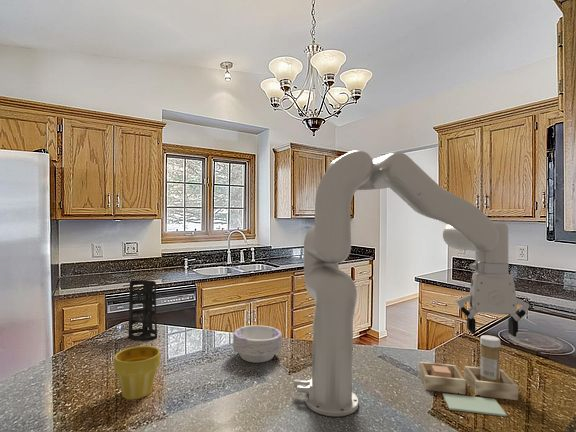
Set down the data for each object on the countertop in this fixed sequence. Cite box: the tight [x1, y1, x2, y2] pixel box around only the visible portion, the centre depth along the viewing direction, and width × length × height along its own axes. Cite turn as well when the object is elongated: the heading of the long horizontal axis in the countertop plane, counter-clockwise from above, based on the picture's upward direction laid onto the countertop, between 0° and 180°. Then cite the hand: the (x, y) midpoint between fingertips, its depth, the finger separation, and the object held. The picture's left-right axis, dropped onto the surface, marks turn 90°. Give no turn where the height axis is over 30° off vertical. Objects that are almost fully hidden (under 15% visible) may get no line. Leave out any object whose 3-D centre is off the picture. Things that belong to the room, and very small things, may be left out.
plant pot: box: [113, 345, 161, 401], centre depth 85 cm, size 10×10×10 cm
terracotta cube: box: [431, 365, 451, 378], centre depth 93 cm, size 4×4×4 cm
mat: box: [442, 392, 508, 417], centre depth 83 cm, size 12×7×1 cm, turn 78°
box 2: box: [463, 365, 519, 401], centre depth 91 cm, size 10×10×4 cm
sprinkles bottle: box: [479, 334, 501, 383], centre depth 91 cm, size 5×5×13 cm
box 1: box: [418, 361, 467, 395], centre depth 93 cm, size 10×10×4 cm
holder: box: [128, 279, 158, 341], centre depth 125 cm, size 11×8×20 cm
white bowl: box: [232, 324, 283, 364], centre depth 109 cm, size 15×15×8 cm
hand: (492, 333), depth 91 cm, fingers open, 9 cm apart
